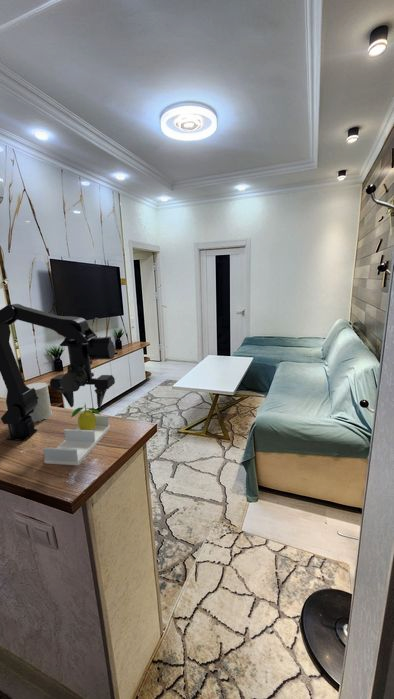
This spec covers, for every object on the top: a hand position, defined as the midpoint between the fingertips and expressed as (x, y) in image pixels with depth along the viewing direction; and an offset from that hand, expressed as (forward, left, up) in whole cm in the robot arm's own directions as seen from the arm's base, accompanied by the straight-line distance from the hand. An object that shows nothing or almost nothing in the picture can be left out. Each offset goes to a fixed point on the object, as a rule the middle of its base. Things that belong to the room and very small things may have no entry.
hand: (85, 407), depth 92 cm
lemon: (0, 0, -9) cm, 9 cm away
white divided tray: (0, -5, -10) cm, 11 cm away
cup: (-25, +11, -10) cm, 29 cm away
